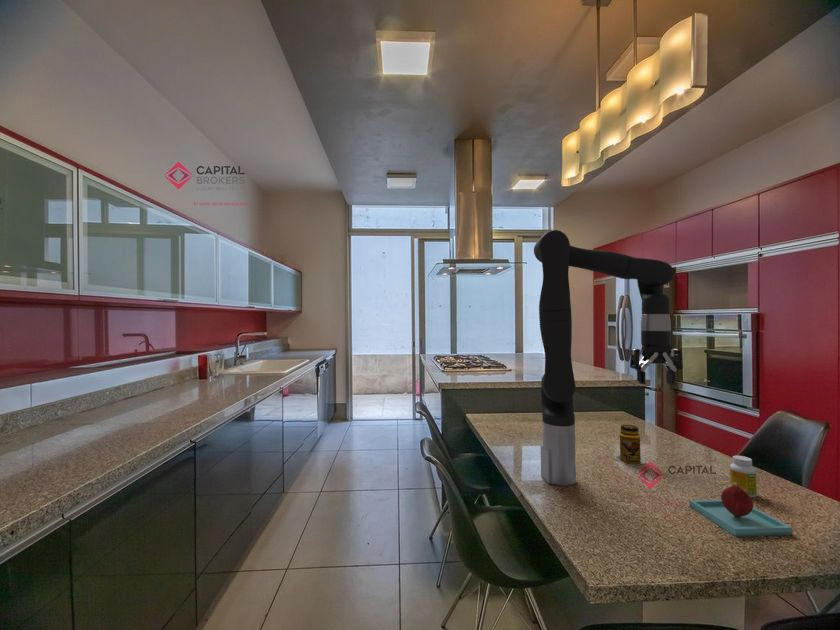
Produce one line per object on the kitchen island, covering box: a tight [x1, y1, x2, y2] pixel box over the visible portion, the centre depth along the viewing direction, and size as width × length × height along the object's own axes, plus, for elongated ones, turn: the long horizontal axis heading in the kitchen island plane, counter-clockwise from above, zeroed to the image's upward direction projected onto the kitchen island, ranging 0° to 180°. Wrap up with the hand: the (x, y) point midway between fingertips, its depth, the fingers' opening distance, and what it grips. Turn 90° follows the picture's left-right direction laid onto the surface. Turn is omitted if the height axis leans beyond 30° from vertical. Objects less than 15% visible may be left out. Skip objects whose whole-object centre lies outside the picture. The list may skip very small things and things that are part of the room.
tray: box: [688, 499, 793, 537], centre depth 86 cm, size 13×13×2 cm
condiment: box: [610, 424, 648, 467], centre depth 124 cm, size 7×8×12 cm
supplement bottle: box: [729, 455, 758, 498], centre depth 100 cm, size 5×5×10 cm
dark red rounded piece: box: [720, 483, 754, 517], centre depth 86 cm, size 6×6×8 cm
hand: (656, 383), depth 107 cm, fingers open, 8 cm apart
